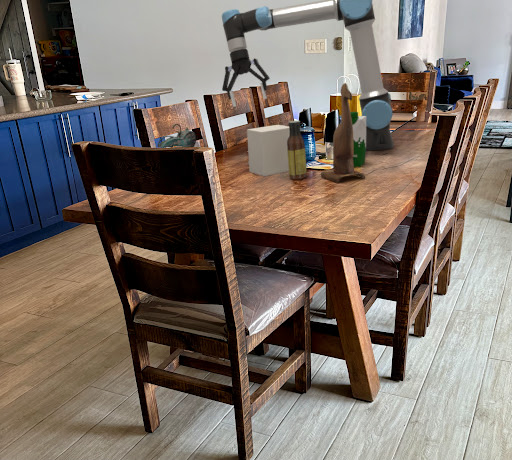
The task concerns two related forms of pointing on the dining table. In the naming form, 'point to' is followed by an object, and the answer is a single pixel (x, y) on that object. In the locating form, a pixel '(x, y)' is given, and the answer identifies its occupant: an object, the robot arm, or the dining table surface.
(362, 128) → the milk carton
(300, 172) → the sauce bottle
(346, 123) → the bird sculpture
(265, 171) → the light grey upright box
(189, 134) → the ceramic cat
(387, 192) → the dining table surface
